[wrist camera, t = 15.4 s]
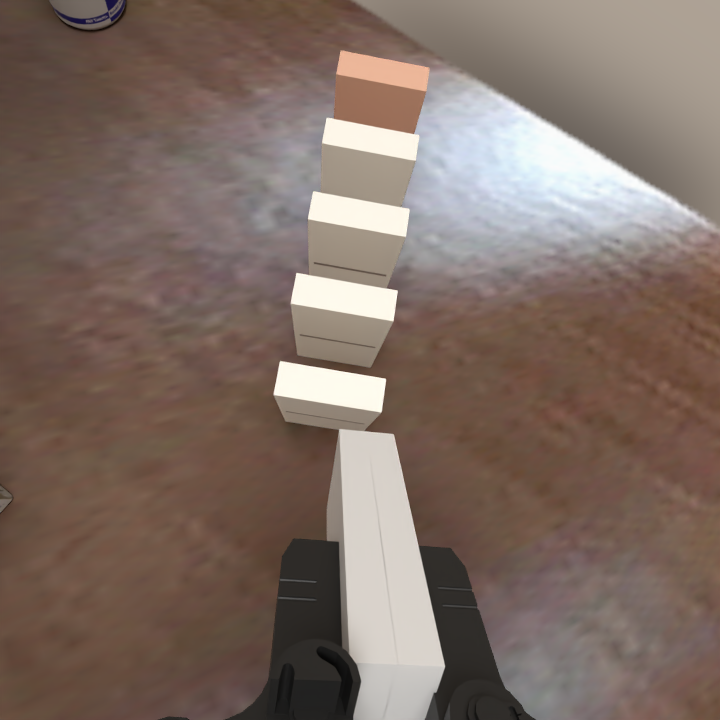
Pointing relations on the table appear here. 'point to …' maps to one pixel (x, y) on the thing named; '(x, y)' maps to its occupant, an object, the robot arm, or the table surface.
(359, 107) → the terracotta domino
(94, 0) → the energy drink
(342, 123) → the ivory domino
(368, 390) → the ivory domino
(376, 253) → the ivory domino
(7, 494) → the coffee box
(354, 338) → the ivory domino
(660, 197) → the table surface
